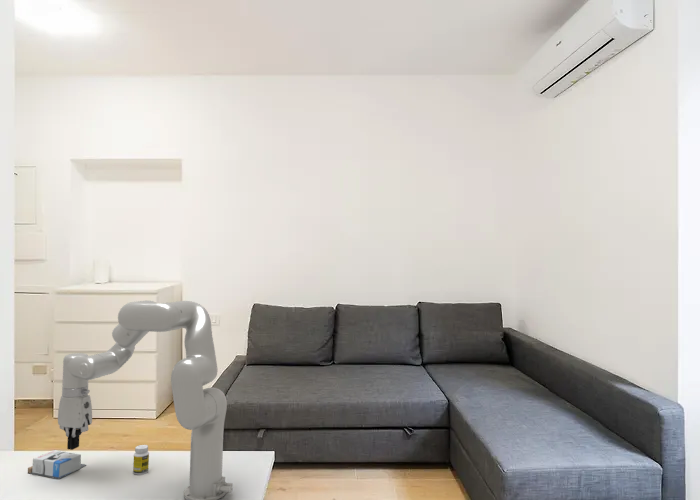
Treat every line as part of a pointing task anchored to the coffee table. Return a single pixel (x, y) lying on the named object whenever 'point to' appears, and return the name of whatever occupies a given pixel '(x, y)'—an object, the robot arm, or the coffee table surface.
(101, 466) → the coffee table surface
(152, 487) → the coffee table surface
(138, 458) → the supplement bottle
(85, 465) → the mat
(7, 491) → the coffee table surface
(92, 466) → the coffee table surface
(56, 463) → the ink box
